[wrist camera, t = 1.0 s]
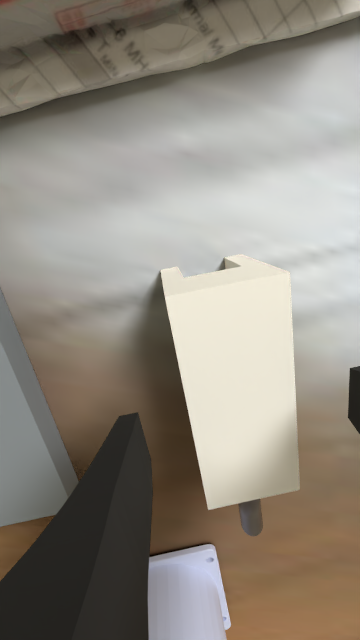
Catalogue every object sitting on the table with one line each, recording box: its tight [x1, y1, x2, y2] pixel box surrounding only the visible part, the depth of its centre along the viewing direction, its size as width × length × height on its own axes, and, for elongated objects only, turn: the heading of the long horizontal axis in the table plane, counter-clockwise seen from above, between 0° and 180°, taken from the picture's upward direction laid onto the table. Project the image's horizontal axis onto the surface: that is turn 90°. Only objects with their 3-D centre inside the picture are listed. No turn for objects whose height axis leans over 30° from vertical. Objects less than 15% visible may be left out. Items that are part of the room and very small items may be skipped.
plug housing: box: [160, 254, 300, 536], centre depth 13 cm, size 12×4×5 cm, turn 10°
